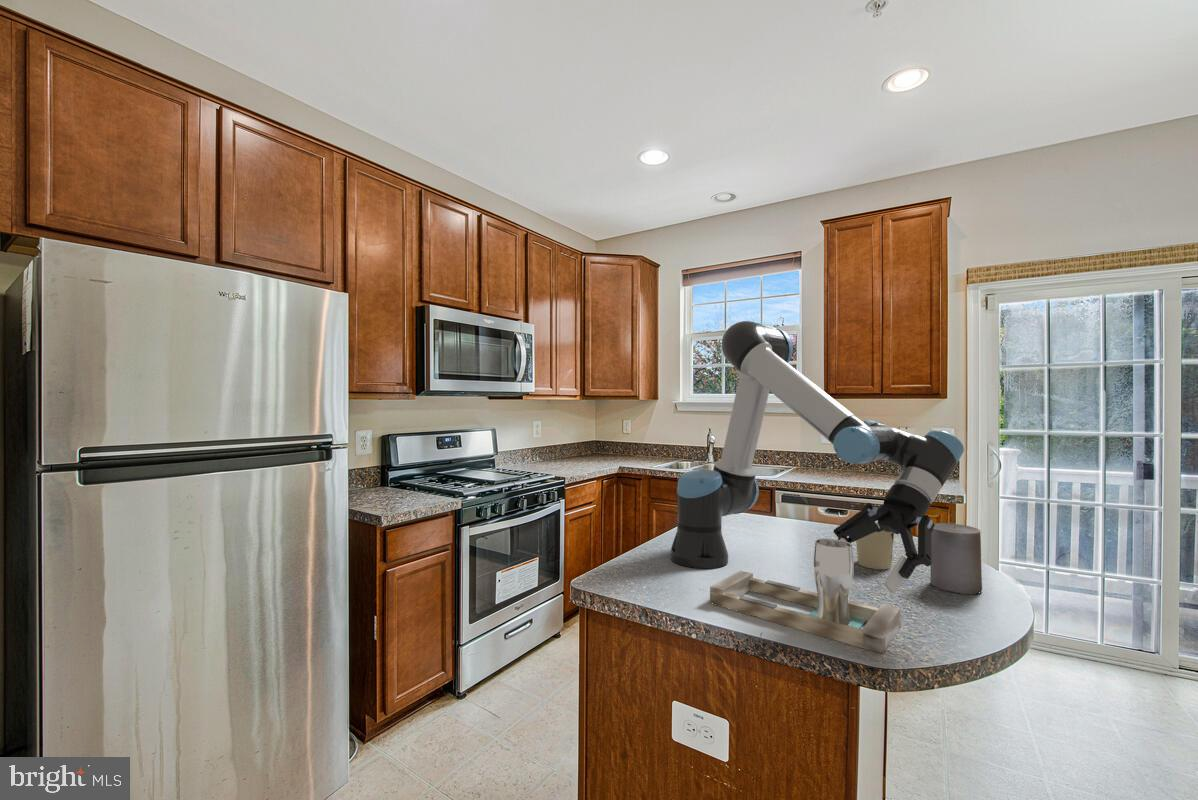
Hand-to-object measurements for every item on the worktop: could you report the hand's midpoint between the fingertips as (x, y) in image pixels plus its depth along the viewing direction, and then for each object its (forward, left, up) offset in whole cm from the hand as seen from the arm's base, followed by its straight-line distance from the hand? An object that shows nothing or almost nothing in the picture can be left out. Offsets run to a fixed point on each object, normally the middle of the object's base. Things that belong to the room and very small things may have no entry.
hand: (857, 577), depth 97 cm
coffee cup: (-6, +41, -8) cm, 42 cm away
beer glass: (-3, -5, -8) cm, 10 cm away
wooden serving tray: (-9, -5, -8) cm, 13 cm away
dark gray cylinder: (+12, +35, -8) cm, 38 cm away
